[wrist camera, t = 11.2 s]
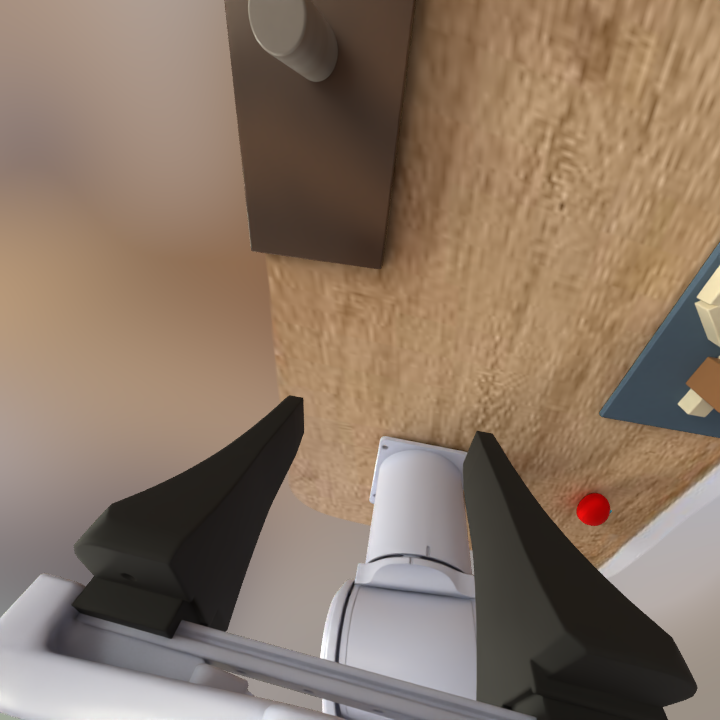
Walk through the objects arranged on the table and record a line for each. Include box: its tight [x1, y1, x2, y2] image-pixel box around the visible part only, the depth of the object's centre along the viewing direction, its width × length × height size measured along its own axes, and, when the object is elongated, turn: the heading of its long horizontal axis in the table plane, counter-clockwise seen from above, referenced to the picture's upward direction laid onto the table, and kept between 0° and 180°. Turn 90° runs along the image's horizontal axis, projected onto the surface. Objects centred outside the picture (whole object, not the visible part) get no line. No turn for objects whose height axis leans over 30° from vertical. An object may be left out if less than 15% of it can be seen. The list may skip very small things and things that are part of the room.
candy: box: [577, 493, 612, 526], centre depth 25 cm, size 3×2×2 cm, turn 176°
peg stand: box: [224, 0, 416, 269], centre depth 13 cm, size 14×8×5 cm, turn 175°
